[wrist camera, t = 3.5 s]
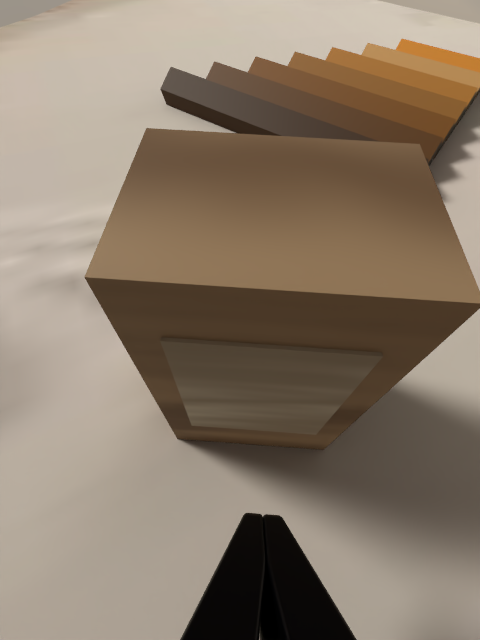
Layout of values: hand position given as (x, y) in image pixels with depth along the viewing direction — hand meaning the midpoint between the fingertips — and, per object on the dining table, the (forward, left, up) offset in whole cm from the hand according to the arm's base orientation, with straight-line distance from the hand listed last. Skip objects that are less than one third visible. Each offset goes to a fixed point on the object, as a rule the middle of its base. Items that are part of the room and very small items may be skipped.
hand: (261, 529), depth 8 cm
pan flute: (+39, -7, -8) cm, 41 cm away
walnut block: (+6, 0, -8) cm, 10 cm away
